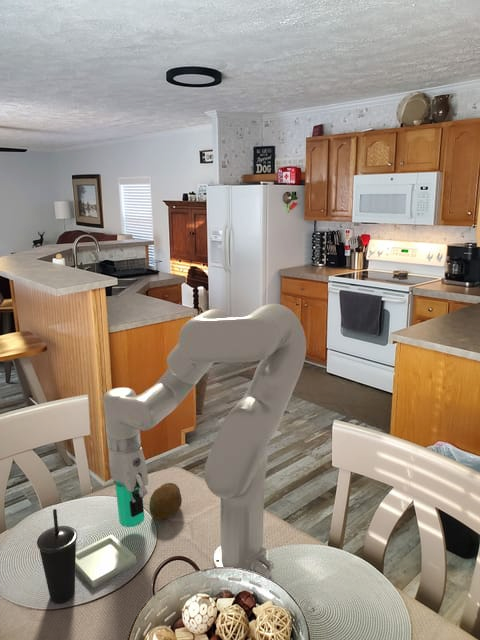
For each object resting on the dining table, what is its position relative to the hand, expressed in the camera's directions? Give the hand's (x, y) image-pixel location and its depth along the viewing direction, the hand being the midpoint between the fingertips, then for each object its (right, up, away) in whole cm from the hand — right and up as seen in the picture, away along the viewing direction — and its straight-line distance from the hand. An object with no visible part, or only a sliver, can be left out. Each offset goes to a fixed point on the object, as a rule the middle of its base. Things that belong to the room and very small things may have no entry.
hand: (130, 508), depth 123 cm
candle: (0, -3, +1) cm, 3 cm away
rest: (-4, -9, -9) cm, 13 cm away
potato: (+7, -5, +9) cm, 12 cm away
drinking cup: (-10, -11, -18) cm, 24 cm away
